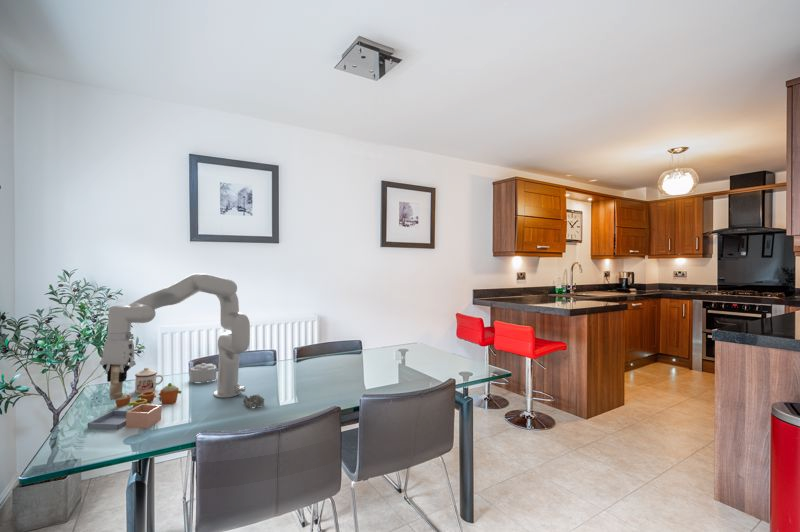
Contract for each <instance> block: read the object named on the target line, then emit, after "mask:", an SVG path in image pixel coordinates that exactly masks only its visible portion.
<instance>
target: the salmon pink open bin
mask: <svg viewBox="0 0 800 532" xmlns="http://www.w3.org/2000/svg"><path fill="white" fill-rule="evenodd" d="M162 408H163V404H152V403H150V404H140V405H139V406H137V407H135V408H133V407H132V408H131V409H130V410H127V411H128V412H126V426H125V428H126V429H127V428H128V429H129V428H130V429H131V428H132V429H149V428H150V427H152V426H154V425H155V424H156V423H159V422H160V421H161V420H162V412H163V411H162Z"/></svg>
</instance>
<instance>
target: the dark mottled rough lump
mask: <svg viewBox="0 0 800 532" xmlns="http://www.w3.org/2000/svg"><path fill="white" fill-rule="evenodd" d="M242 397H244V399H243V401H242V403H244V404H243V405H245V406H246V405H247V406H246V407H248V408H249V407H250V408H251V409H253V408H252V407H256V406H262V407H263V406H265V400H266V398H263V396H261V395H260V394H259V393H258V394H253V395H250V396H249V397H248V396H247V395H244V394H243V395H242ZM250 408H249V409H250ZM256 408H257V407H256Z"/></svg>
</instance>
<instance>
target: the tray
mask: <svg viewBox="0 0 800 532" xmlns="http://www.w3.org/2000/svg"><path fill="white" fill-rule="evenodd" d="M128 411H129V410H124V409H123V410H122V409H121V410H120V409H119V410H118V409H112V410H111V411H109V412H107V413H105V414H103V415H101V416H99V417H97V418H95V419H93V420H91V421H90V422H89V421H88V423H87V429H88V428H90V429H92V430H110V429H111V430H112V431H113V430H114V431H115V430H117V431H118V430H121V429H122V428H124V427H126V412H128Z"/></svg>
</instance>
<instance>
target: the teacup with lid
mask: <svg viewBox="0 0 800 532" xmlns="http://www.w3.org/2000/svg"><path fill="white" fill-rule="evenodd" d="M134 376H135V386H134V392H135V393H136V394H142V393H144V392H155V390H156V386H157V385H160V384H162V382H163V381H164V377H163V375H162V374H158V373H157V371H156V370H155V369H150V368H149V367H144V368H143V369H141V370H140V371H137V372H136V373H135V375H134ZM157 377H160V378H161V379H160V381H158V382H157Z"/></svg>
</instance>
